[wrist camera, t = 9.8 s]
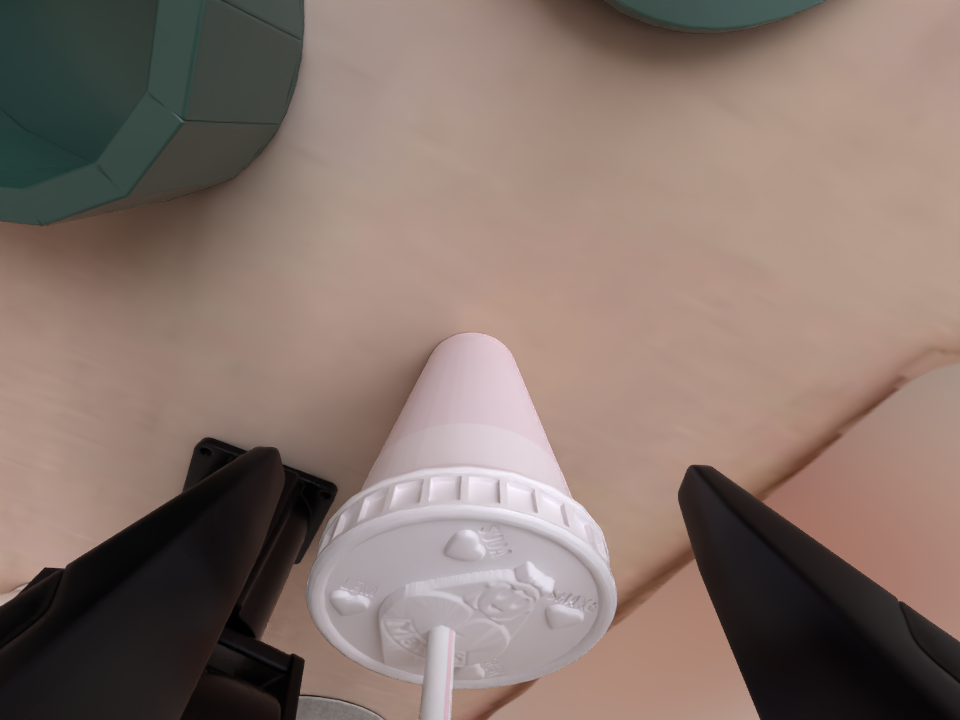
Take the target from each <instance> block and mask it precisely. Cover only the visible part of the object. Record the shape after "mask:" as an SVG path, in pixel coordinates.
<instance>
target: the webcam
mask: <svg viewBox="0 0 960 720" xmlns="http://www.w3.org/2000/svg"><path fill="white" fill-rule="evenodd" d="M296 720H384V719H382V718H381V717H380V716H378V715H377V714H375V713H373V712H371V711H369V710H367V709H365V708H362V707H360V706H357V705H353V704H350V703H347V702H343V701H340V700H334V699H328V698H321V697H311V696H299V701H298V707H297V714H296Z"/></svg>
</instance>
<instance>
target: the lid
mask: <svg viewBox="0 0 960 720" xmlns="http://www.w3.org/2000/svg"><path fill="white" fill-rule="evenodd" d="M603 1H604V2H606V3H607V4H609V5H610V6H612V7H613V8H615V9H617V10H618V11H620V12H621V13H623V14H626V15H628V16H630V17H632V18H635V19H637V20H639V21H642V22H644V23H646V24H649V25H652V26H656V27H660V28H665V29H669V30H673V31H677V32H688V33H705V34H713V33H723V32H732V31H742V30H746V29H750V28H754V27H757V26H761V25H765V24H769V23H773V22H776V21H779V20H782V19H784V18H787V17H789V16H792V15H794V14H796V13H799V12H801V11H804V10H806V9H809V8H811V7H814V6H816V5H819V4H821V3H822V2H824V1H826V0H603Z"/></svg>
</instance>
